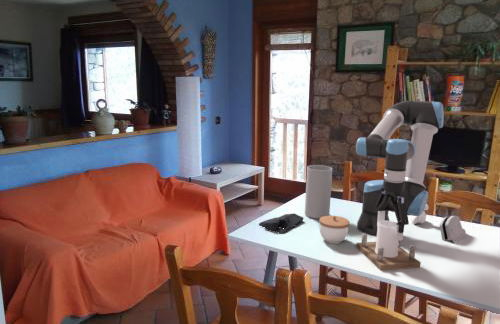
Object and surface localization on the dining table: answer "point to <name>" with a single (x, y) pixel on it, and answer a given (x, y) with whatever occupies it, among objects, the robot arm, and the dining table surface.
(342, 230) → the lidded bowl
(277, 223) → the dark slate chunk
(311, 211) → the cylinder vase
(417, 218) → the bust
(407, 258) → the peg board
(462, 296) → the dining table surface
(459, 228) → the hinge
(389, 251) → the mug
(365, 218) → the robot arm
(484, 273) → the dining table surface
